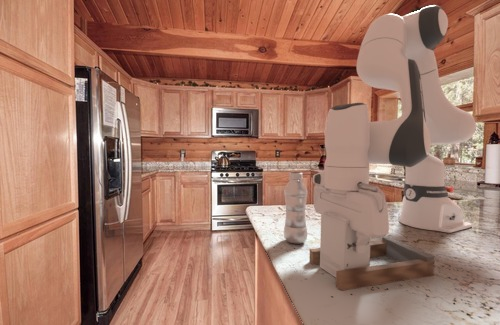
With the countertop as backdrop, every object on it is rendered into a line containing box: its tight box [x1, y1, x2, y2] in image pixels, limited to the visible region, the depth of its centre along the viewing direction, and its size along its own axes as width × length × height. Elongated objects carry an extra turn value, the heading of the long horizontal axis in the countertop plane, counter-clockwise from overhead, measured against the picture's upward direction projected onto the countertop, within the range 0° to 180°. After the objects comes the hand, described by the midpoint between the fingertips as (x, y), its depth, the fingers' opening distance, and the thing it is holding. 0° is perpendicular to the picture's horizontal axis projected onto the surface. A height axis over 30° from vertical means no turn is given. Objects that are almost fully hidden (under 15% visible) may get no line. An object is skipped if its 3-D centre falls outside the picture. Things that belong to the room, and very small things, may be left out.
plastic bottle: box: [283, 171, 308, 245], centre depth 68 cm, size 6×7×20 cm
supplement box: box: [319, 212, 371, 279], centre depth 52 cm, size 7×7×13 cm
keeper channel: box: [309, 236, 436, 291], centre depth 53 cm, size 22×12×4 cm, turn 104°
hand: (344, 243), depth 52 cm, fingers closed on supplement box, 8 cm apart
